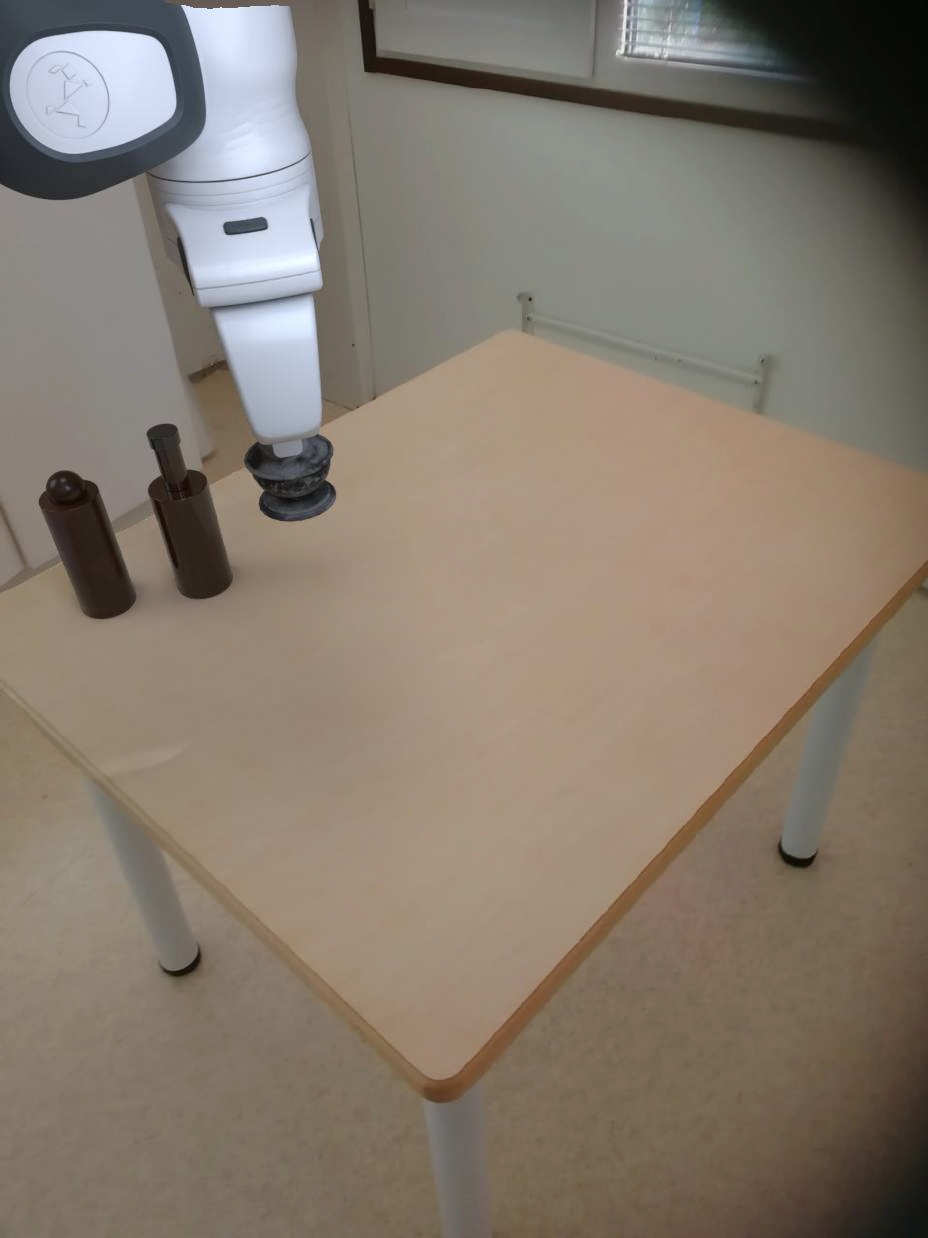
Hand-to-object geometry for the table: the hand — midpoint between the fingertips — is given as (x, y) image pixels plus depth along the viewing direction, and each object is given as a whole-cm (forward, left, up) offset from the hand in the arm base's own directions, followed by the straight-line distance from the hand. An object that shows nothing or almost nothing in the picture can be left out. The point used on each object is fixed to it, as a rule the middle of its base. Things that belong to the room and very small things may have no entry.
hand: (283, 433), depth 62 cm
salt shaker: (0, 0, -5) cm, 5 cm away
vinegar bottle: (-9, +20, -25) cm, 34 cm away
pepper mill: (-18, +20, -25) cm, 37 cm away
